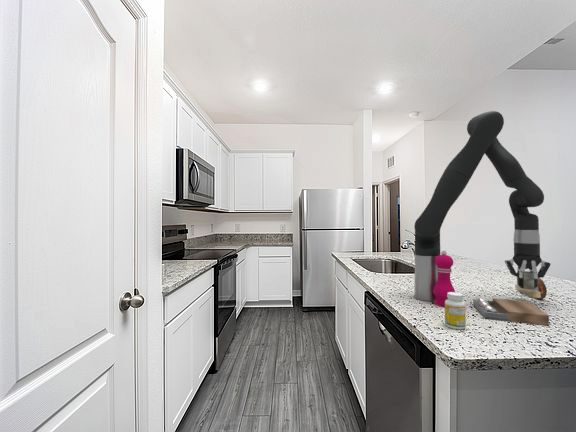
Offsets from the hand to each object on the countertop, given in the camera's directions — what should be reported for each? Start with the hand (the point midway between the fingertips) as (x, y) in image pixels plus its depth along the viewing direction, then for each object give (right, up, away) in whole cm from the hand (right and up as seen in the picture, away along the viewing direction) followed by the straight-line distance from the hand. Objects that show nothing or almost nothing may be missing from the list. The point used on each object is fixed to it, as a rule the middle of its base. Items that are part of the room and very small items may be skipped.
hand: (527, 287), depth 107 cm
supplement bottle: (-40, -6, -23) cm, 47 cm away
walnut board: (-14, -6, -13) cm, 20 cm away
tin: (+11, -6, +11) cm, 17 cm away
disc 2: (-22, -3, -10) cm, 24 cm away
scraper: (0, -2, 0) cm, 2 cm away
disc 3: (-23, -3, -14) cm, 27 cm away
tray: (-21, -6, -10) cm, 24 cm away
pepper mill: (-32, -6, -1) cm, 32 cm away
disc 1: (-20, -3, -5) cm, 21 cm away
